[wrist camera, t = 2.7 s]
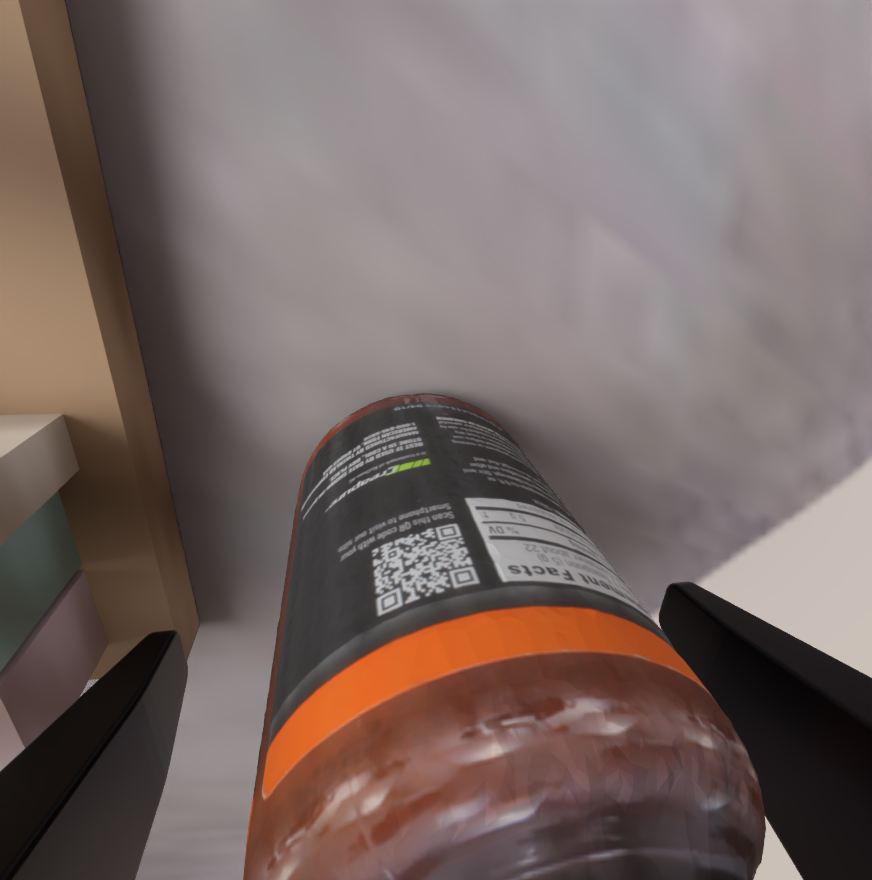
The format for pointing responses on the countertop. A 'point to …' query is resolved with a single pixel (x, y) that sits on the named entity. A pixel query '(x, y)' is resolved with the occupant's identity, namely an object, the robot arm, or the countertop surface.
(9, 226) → the book rack
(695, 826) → the supplement bottle
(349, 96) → the countertop surface
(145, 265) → the countertop surface
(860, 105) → the countertop surface
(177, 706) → the robot arm
